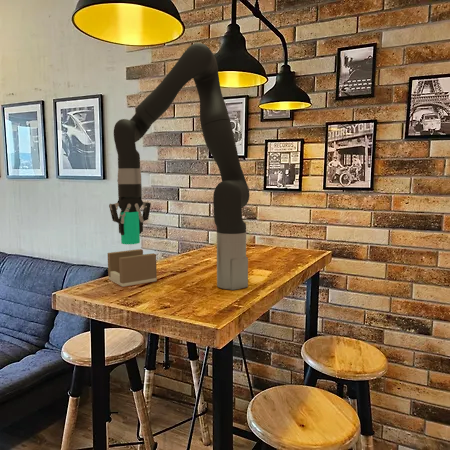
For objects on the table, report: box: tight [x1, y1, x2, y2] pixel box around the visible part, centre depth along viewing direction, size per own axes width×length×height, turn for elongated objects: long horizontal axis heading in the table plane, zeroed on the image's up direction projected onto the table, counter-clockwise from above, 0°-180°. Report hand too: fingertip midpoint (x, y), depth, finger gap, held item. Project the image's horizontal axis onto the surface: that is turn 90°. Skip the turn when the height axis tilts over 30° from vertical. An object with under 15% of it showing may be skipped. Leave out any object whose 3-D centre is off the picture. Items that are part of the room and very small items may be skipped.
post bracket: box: [107, 248, 158, 287], centre depth 138 cm, size 12×12×9 cm
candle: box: [119, 211, 141, 245], centre depth 136 cm, size 6×6×12 cm
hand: (131, 233), depth 137 cm, fingers closed on candle, 5 cm apart
